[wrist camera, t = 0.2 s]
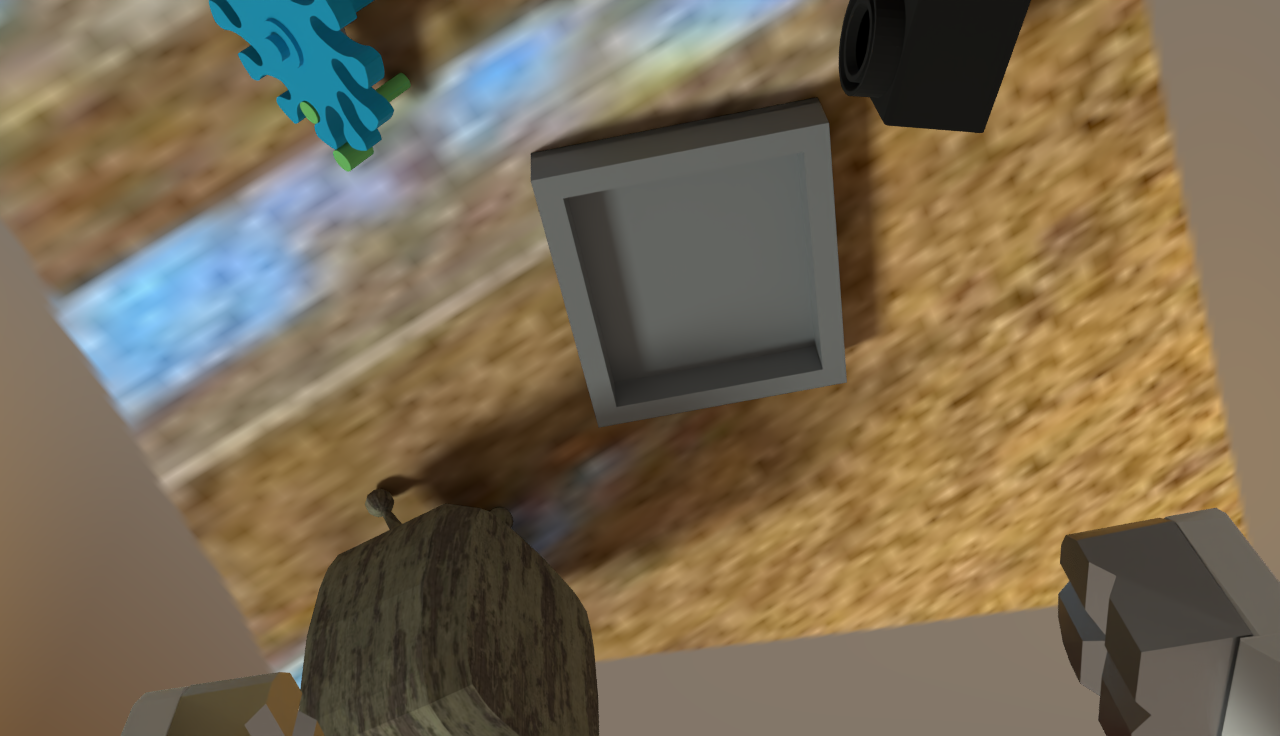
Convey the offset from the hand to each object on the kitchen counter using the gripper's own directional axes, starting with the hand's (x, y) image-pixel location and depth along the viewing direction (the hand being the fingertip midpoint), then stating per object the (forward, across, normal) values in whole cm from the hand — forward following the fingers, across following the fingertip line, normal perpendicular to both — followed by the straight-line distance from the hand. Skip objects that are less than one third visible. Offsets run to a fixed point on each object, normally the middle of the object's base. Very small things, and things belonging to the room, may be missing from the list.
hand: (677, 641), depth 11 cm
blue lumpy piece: (+39, +12, +2) cm, 41 cm away
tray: (+41, -2, +18) cm, 44 cm away
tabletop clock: (+43, +14, +34) cm, 56 cm away
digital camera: (+39, -13, +4) cm, 42 cm away
